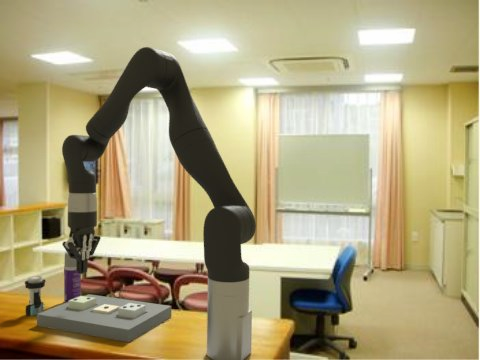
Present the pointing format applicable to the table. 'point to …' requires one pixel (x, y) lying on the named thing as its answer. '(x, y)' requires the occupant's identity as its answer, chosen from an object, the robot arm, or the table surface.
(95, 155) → the robot arm
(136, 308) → the tile three pips
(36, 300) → the push button
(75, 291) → the container
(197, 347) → the table surface
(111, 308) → the tile one pip
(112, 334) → the button board
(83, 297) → the tile two pips
